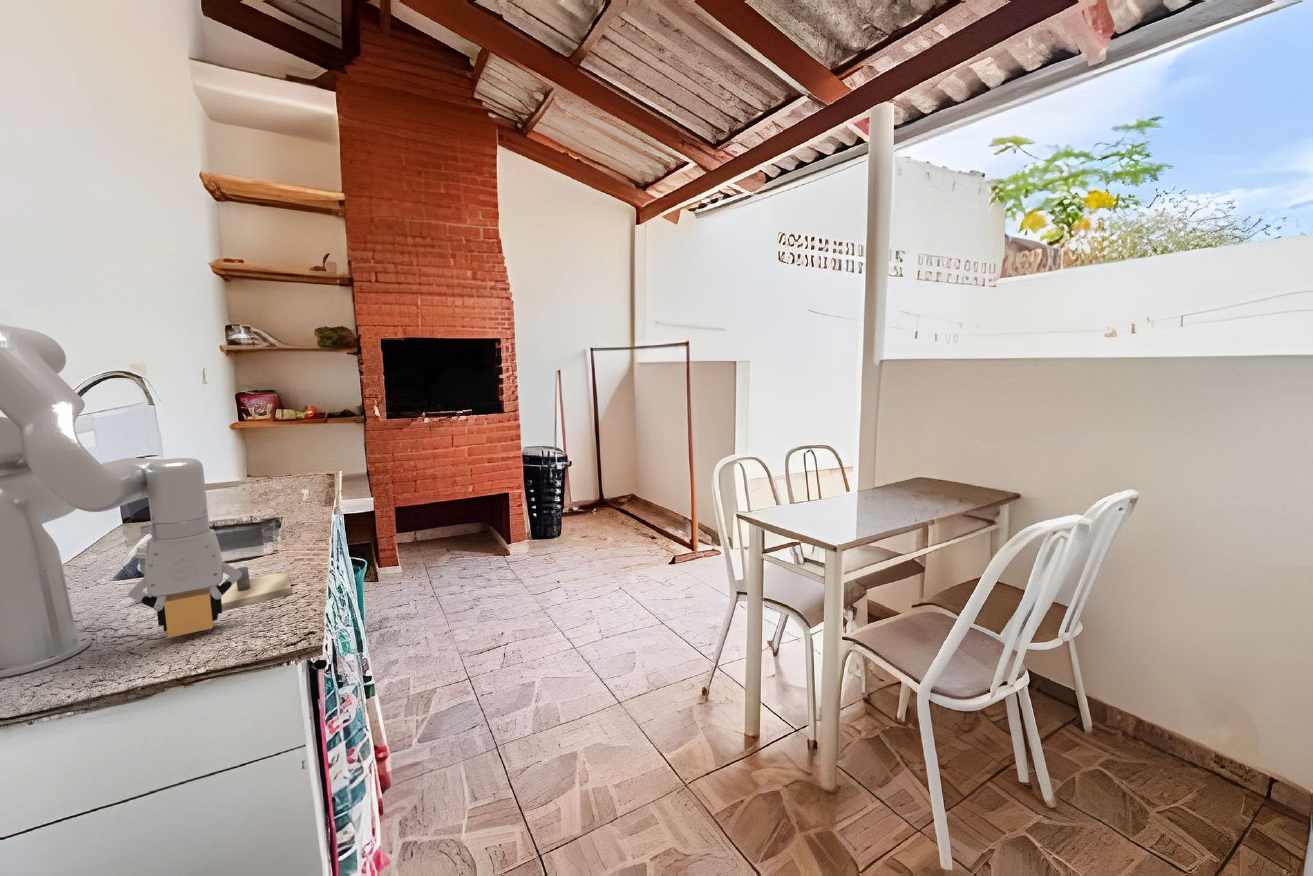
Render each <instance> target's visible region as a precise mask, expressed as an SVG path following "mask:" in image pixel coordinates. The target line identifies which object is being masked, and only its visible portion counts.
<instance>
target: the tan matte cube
mask: <svg viewBox="0 0 1313 876" xmlns="http://www.w3.org/2000/svg"><path fill="white" fill-rule="evenodd" d="M211 599H212V595H211V593H210V591H208V589H207V588H206V589H201V590H196V591H190V592H185V593H180V594H174V595H168V596H167V599H165V602H164V607H165V616H166V624H167V631H166V632H167V638H174V637H179V636H182V635H183V636H184V635H187V634H191V633H197V632H201V631H206V630H211V629H213V628H214V623H215V621H214V620H213V617H212V607H211Z"/></svg>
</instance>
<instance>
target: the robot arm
mask: <svg viewBox="0 0 1313 876" xmlns="http://www.w3.org/2000/svg"><path fill="white" fill-rule="evenodd" d="M66 363H67V357H66V353H65V351H64V349H63V348H62V346H61V345H60V344H59V343H58V342H57V341H56V340H55V339H53V338H52V337H50V336H48V335H47V334H45V333H43V332H41V331H40V332H39V331H36V330H34V329H33V330H32V329H29V328H28V329H27V328H21V327H16V326H12V325H7V324H2V323H0V412H1V413H3V415H5V417H4V416H0V678H5V677H12V676H16V675H21V674H25V673H26V674H27V673H29V672H33V671H36V670H39V669H43V668H45V667H49V666H52V665H54V664H56V663H60V662H62V661H65V660H66V659H69V658H71V657H73V656H75V655H77V654H78V653H81V652H82V651H83V650H85V649H87V648H88V647H89V646H90V645H91V644H92V640H93V639H92V637H91V634H90V633H87V632H82V631H81V632H79V631H77V628H76V624H75V623H76V621H75V617H74V614H73V609H72V604H71V599H70V595H69V591H68V586H67V581H66V575H65V571H64V567H63V563H62V558H61V554H60V550H59V548H58V545H57V544H56V542H55V539H53V538H52V536H51V535H50V534H49V533H48V531H47V530H46V529H45V528H44V526H43V524H46V523H48V522H52V521H55V520H58V519H60V518H62V517H66V516H67V515H69V514H72V513H73V512H74V511H76V510H80V511H84V512H89V513H100V512H101V513H102V512H106V511H111V510H113V509H116V508H119V507H121V506H124V505H127V504H130V503H133V502H136V501H139V500H140V501H141V500H142V499H146V498H148V506H149V507H148V508H149V514H150V523H148V524H146V525H142V526H139V527H140V528H139V530H140V535H144V534H147V535H149V536H151V538H149V539H148V540H147V541H146V542H147V545H146V554H145V569H146V576H145V577H143V578H142V579H140V581H138V583H136V584H135V586H133V587H132V588H131V589H130V590H129V592H128V593H127V597H129V598H130V599H133V600H135V601H137V602H140V603H141V604H143V605H145V606H146V607H149V608H151V609H153V611H156V615H157V624H158V627H163V632H167V624H166V616H165V607H164V602H165V599H167V596H168V595H174V594H180V593H185V592H190V591H196V590H201V589H206V588H207V589H208V591H210V593H211V595H212V599H211V607H212V617H213V620H214V622H215V621H218V618H219V614H223V611H222V602H221V597H222V595H223V594H224V593H225V592H226V591H227V590H228V589H229V588H230V587H231V586H232V585H233V584H234V583H235V582H236V581H237V580H238V579H239V578H240V577H241V575H242V573H241V572H240V571H239V570H237V568H235V567H233V566H232V565H230V564H228V563H227V562H225V561H223V556H222V552H221V547H220V544H219V539H218V537H217V535H216V534H217V533H216V532H215V530H214V529H213V528H210V521H209V511H208V502H207V492H206V485H205V484H206V482H205V475H204V474H205V473H204V467H203V463H202V462H201V461H200V460H198V459H196V458H193V457H179V458H177V457H175V458H168V459H167V458H166V459H156V458H155V459H153V458H145V457H126V458H120V459H116V460H112V461H107V462H104V463H100V462H99V460H98V459H96V458H95V457H94V456H93V455H92V454H91V453H90V452H89V451H88V449H86V447H84V446H83V444H82V442H81V441H80V440H79V438H78V436H77V434H76V429H75V426H76V420H77V418H78V417H79V415H80V414H81V413H82V412H83V411H84V409H85V401H84V399H83V398H82V397H81V396H80V395H79V394H78V393H77V391H75V390H74V389H73V388H72V387H71V386H70V385H69V384H68V383H67V382H66V381H65V380H64V379H63V378H62V377H61V376H60V373H61V372H62V371H63V370H64V368H65V366H66ZM224 574H225V575H227V576H229V577H228V578H227V579H226V580H224V581H223V579H224ZM222 581H223V582H222ZM145 589H146V592H145V591H144V590H145ZM157 597H158V598H157Z"/></svg>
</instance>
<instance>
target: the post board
mask: <svg viewBox="0 0 1313 876" xmlns="http://www.w3.org/2000/svg"><path fill="white" fill-rule="evenodd" d="M236 569H237V570H239V571H240V572H241V573H242V575H241V577H240V578H239V579H238V580H237V581H236V582H235V583H234V584H233V585H232V586H231V587H230V588H229V589H228V590H227V591H226V592H225V593H224V594H223V595H222V597H221V602H222V612H223V611H227V610H231V609H236V608H239V607H244V606H247V604H248V605H252V604H256V603H255V602H257V603H259V602H264V600H265V601H268V600H272V599H276V598H281V597H285V596H288V595H289V596H290V595H292V593H293V591H292V586H291V584H292V583H291V577H290V573H289V572H290V571H289V570H286V571H284V570H283V571H280V572H277V573H272V574H267V575H262V576H258V577H254V578H250V574H249V569H248V567H247V566H242V567H238V568H236ZM235 607H236V608H235Z"/></svg>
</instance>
